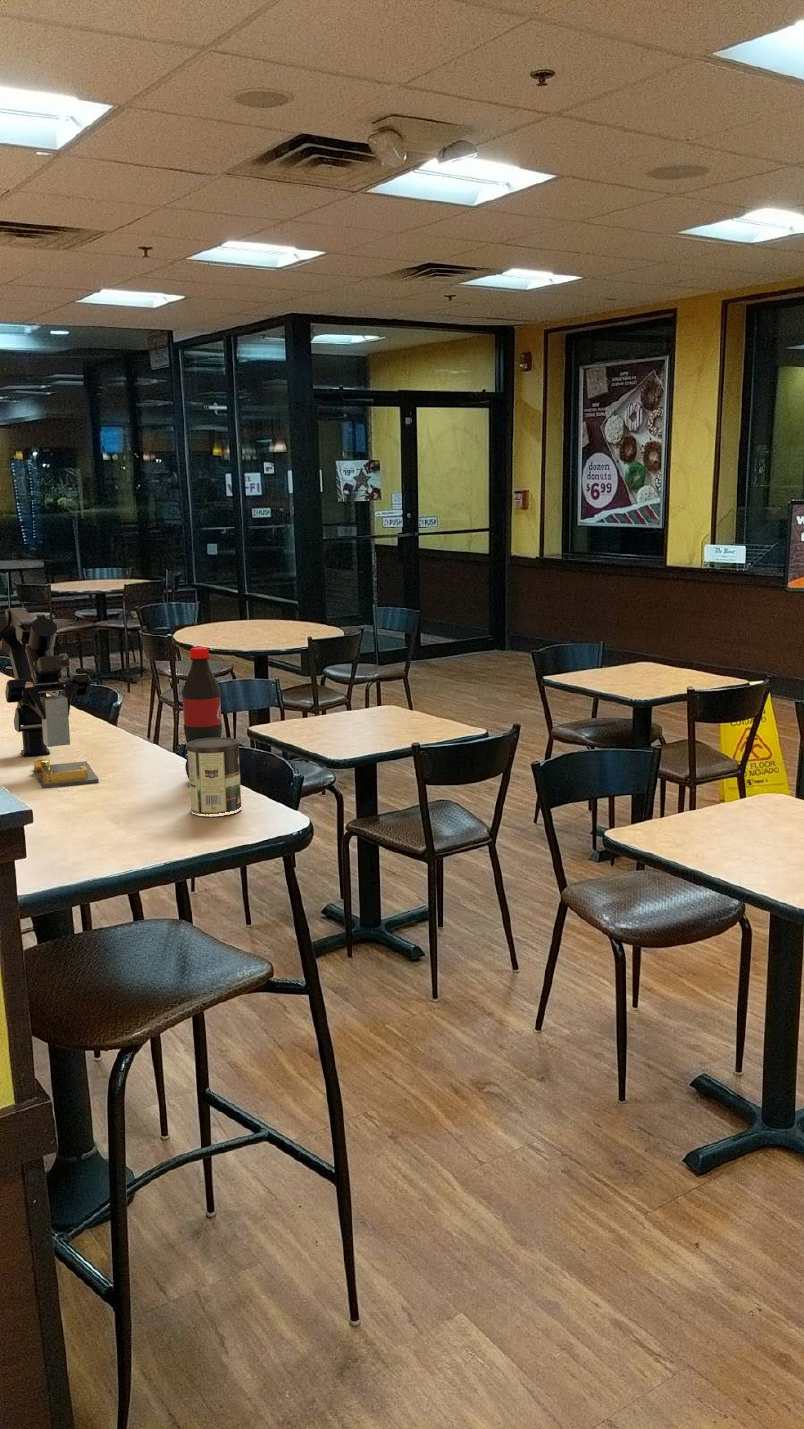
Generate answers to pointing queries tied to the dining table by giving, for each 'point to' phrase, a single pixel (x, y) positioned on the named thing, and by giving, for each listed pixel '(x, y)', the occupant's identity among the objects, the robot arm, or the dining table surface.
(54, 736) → the link block
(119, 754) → the dining table surface
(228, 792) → the coffee can
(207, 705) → the cola bottle
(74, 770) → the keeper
